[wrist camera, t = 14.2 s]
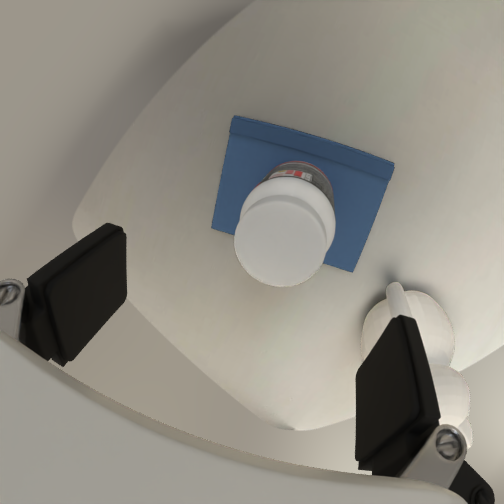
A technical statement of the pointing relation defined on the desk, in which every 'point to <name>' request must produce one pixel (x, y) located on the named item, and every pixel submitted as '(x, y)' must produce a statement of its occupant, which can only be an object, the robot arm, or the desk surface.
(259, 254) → the pill bottle
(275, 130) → the cloth
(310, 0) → the desk surface
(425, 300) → the cat figurine
